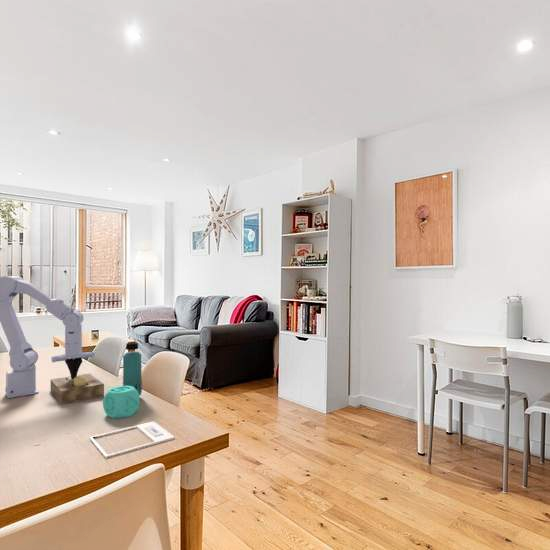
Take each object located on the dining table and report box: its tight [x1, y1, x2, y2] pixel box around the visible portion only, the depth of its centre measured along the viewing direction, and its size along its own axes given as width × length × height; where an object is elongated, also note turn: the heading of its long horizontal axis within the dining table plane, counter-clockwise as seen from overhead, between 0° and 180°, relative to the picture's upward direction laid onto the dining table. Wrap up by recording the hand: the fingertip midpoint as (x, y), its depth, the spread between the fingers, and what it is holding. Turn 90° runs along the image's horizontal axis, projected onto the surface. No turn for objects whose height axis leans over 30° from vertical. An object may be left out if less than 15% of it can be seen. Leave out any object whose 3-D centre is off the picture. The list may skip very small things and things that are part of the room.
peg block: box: [50, 373, 105, 405], centre depth 147 cm, size 14×19×4 cm
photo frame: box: [88, 421, 176, 459], centre depth 107 cm, size 15×1×18 cm
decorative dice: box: [102, 385, 141, 419], centre depth 126 cm, size 8×8×8 cm
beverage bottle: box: [122, 341, 143, 396], centre depth 141 cm, size 6×7×20 cm
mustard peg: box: [74, 376, 86, 387], centre depth 143 cm, size 4×4×4 cm
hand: (73, 378), depth 151 cm, fingers closed, pressing on sage peg
